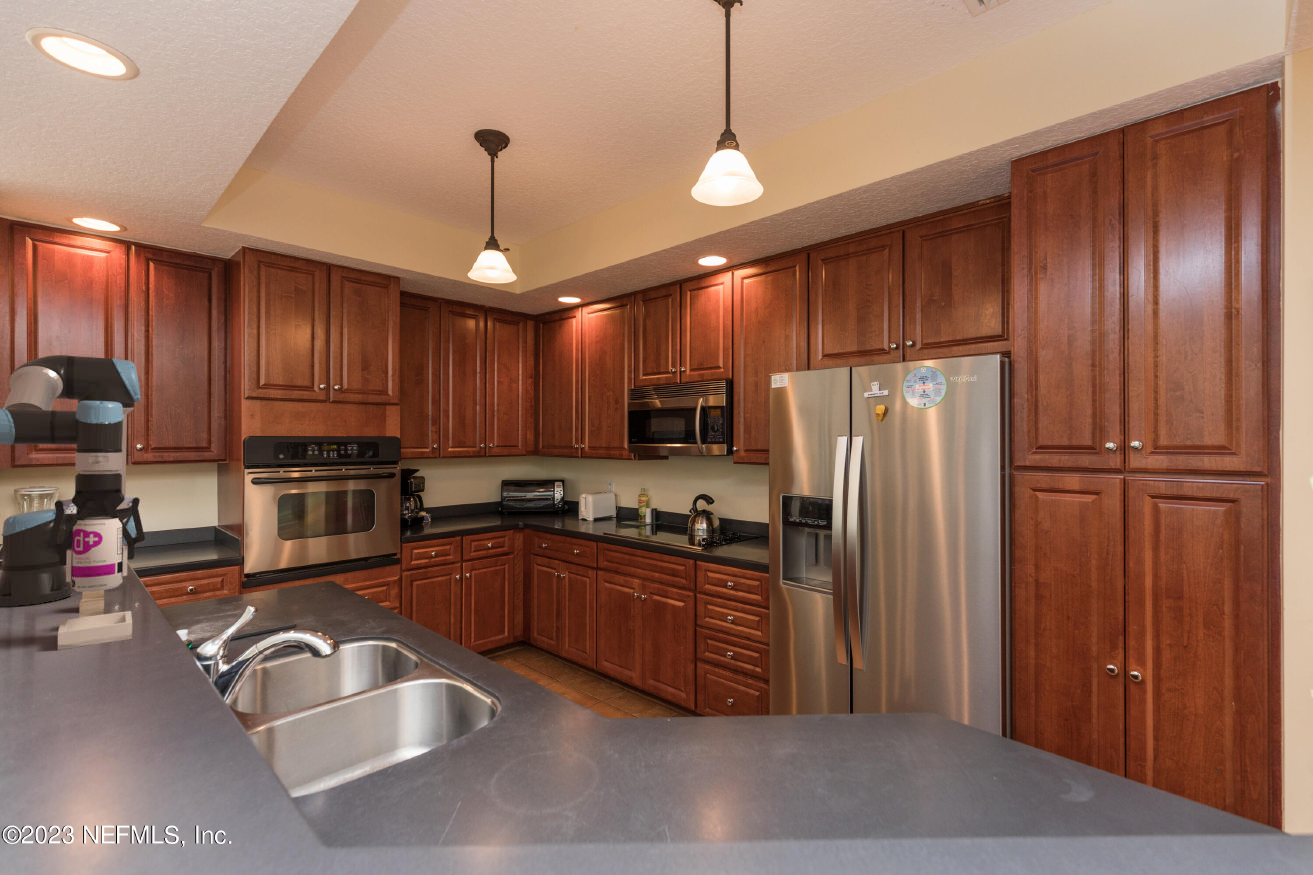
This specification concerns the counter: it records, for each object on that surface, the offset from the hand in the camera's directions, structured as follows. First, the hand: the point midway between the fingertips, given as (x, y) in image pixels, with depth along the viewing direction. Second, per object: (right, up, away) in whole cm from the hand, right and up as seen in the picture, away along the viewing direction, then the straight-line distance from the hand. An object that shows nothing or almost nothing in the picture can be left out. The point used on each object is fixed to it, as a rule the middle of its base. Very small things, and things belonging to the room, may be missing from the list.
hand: (97, 577), depth 134 cm
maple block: (-20, -13, +21) cm, 31 cm away
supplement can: (0, -2, 0) cm, 2 cm away
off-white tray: (0, -13, 0) cm, 13 cm away
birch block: (-8, -13, +7) cm, 17 cm away
